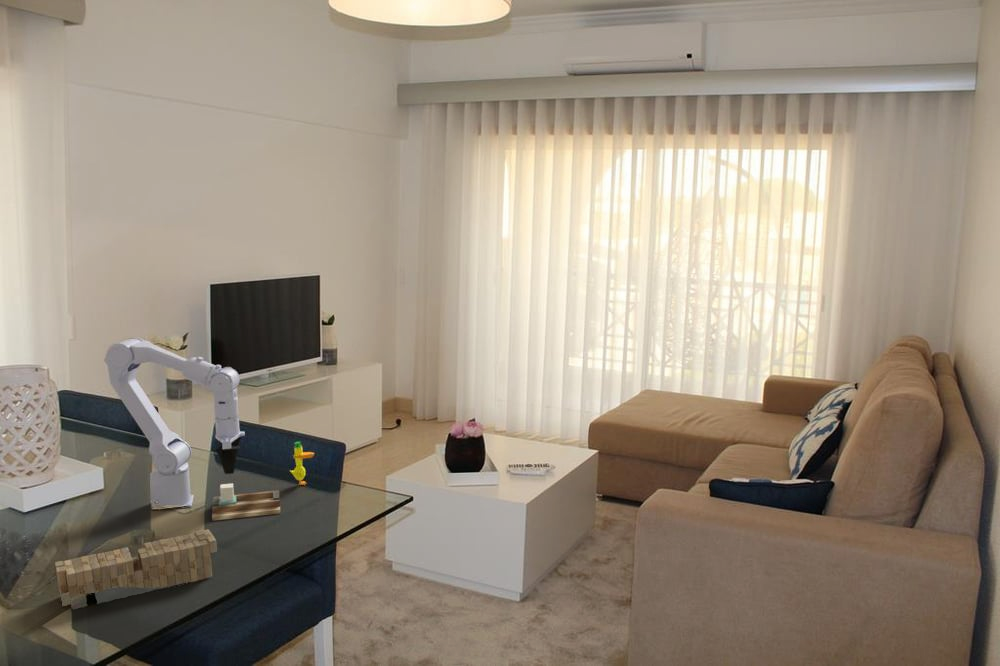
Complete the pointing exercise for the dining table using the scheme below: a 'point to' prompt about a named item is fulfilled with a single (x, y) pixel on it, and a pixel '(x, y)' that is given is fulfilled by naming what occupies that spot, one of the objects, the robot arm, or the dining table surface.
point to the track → (248, 506)
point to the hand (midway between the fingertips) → (230, 468)
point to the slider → (227, 495)
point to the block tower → (140, 565)
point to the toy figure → (300, 462)
